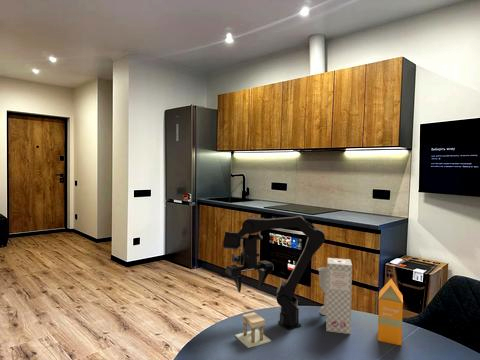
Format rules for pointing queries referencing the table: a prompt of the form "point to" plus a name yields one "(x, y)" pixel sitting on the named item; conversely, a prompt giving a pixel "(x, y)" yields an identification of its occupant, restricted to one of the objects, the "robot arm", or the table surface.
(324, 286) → the chalice
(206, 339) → the table surface
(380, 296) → the orange juice
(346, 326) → the box
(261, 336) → the tan block with pegs
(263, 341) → the mat
